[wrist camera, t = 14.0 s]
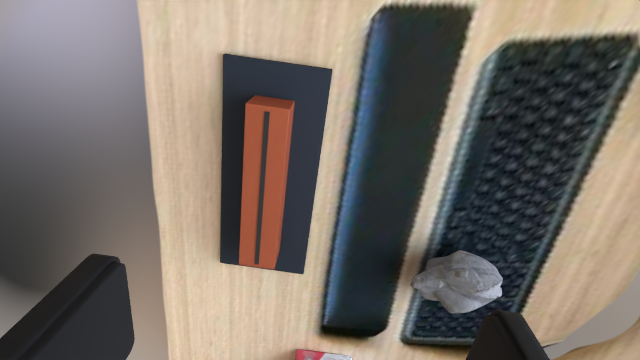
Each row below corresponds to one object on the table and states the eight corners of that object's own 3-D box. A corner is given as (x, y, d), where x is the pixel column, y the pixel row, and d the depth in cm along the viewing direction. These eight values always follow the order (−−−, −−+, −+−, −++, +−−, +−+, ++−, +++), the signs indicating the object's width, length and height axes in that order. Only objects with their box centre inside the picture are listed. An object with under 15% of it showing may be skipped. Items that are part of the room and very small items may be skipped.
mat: (225, 53, 35) (223, 54, 35) (332, 69, 36) (332, 70, 35) (221, 259, 46) (220, 262, 46) (303, 271, 46) (303, 274, 46)
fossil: (398, 288, 47) (409, 338, 39) (405, 231, 43) (419, 274, 36) (483, 291, 46) (510, 342, 39) (497, 233, 42) (530, 277, 35)
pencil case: (254, 95, 36) (245, 103, 33) (294, 100, 36) (289, 109, 33) (247, 244, 44) (238, 265, 41) (279, 249, 44) (274, 270, 41)
